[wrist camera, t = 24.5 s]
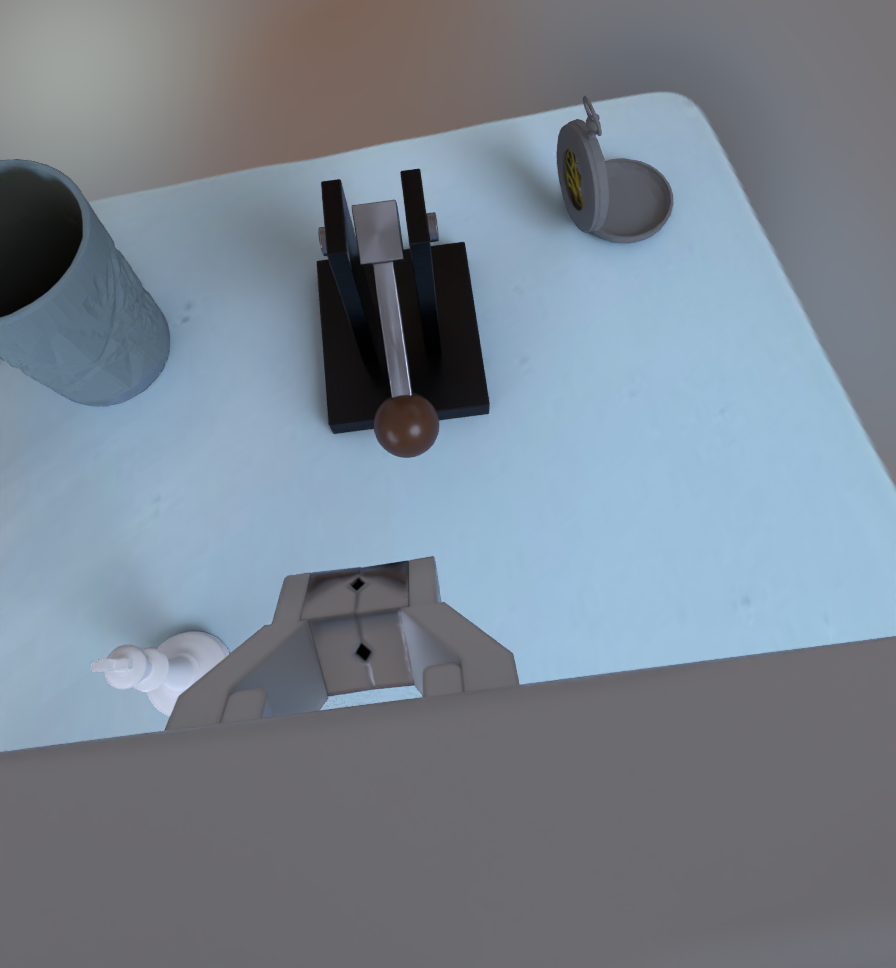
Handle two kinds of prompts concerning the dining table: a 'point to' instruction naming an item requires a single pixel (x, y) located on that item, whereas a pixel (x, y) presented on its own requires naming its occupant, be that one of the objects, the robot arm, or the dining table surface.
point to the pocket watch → (609, 186)
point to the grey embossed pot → (71, 294)
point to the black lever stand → (425, 314)
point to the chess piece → (163, 666)
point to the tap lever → (393, 334)
